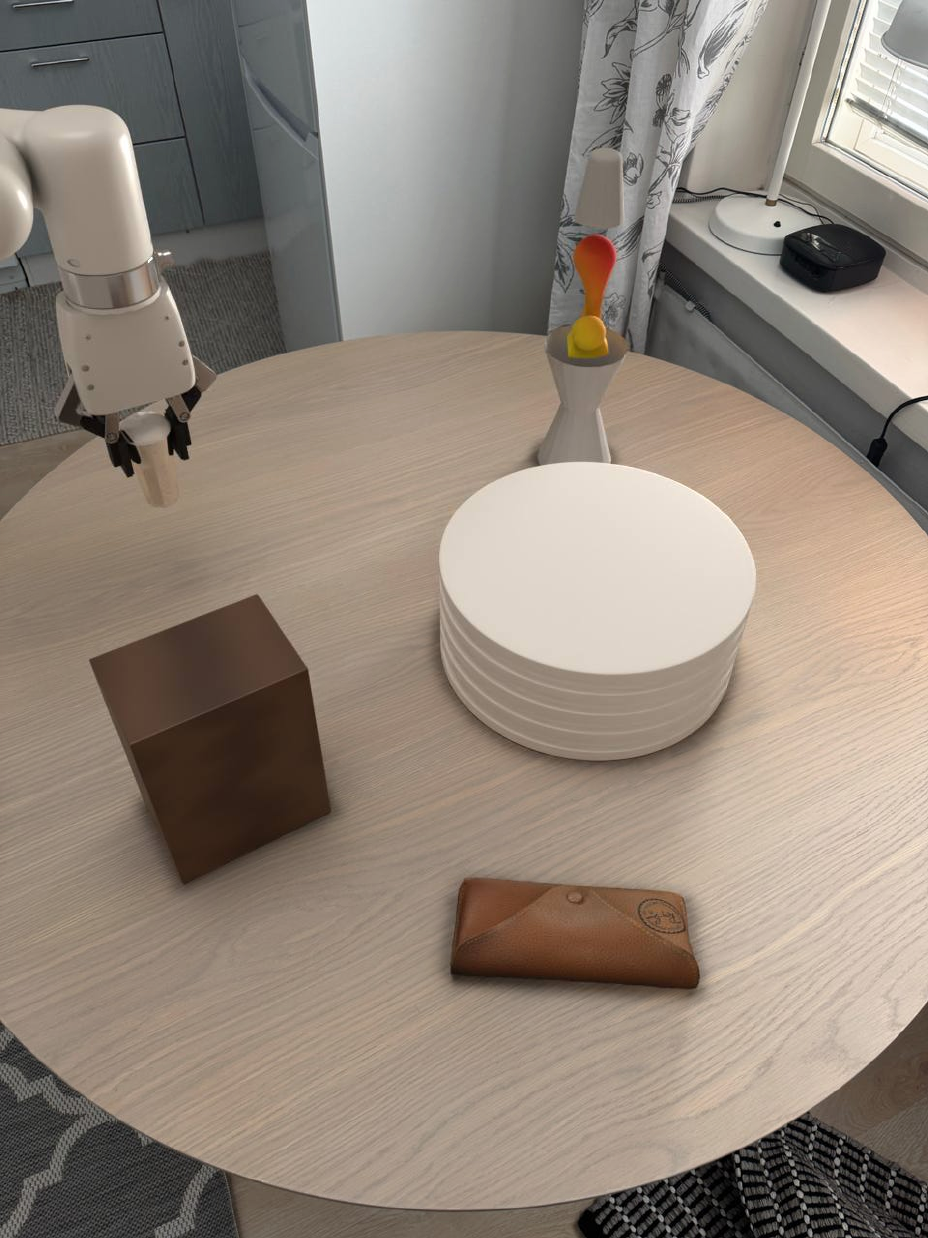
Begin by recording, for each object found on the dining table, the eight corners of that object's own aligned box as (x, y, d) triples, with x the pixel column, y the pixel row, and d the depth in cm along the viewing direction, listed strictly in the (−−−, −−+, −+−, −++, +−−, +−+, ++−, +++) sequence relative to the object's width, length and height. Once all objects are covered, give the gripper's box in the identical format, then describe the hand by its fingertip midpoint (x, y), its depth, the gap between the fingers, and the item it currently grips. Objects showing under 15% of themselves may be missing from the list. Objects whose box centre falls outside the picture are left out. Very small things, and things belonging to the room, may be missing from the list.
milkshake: (126, 511, 96) (99, 424, 88) (155, 479, 99) (132, 392, 92) (167, 521, 95) (144, 434, 87) (196, 488, 98) (175, 402, 91)
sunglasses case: (685, 887, 78) (703, 889, 71) (686, 982, 76) (704, 993, 70) (455, 876, 78) (452, 877, 72) (451, 970, 77) (447, 980, 70)
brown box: (182, 885, 78) (129, 745, 66) (141, 796, 84) (84, 652, 71) (331, 812, 83) (308, 668, 70) (282, 732, 89) (253, 586, 76)
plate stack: (764, 754, 88) (796, 667, 79) (446, 767, 86) (445, 680, 78) (695, 544, 107) (715, 457, 99) (435, 552, 106) (433, 465, 98)
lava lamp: (535, 434, 121) (556, 133, 96) (610, 436, 121) (650, 135, 96) (536, 480, 115) (559, 170, 90) (615, 482, 115) (659, 172, 90)
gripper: (193, 237, 86) (223, 416, 99) (-9, 280, 80) (51, 466, 93) (226, 272, 82) (253, 455, 95) (15, 321, 75) (75, 510, 88)
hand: (153, 459), depth 94 cm, fingers closed on milkshake, 4 cm apart
